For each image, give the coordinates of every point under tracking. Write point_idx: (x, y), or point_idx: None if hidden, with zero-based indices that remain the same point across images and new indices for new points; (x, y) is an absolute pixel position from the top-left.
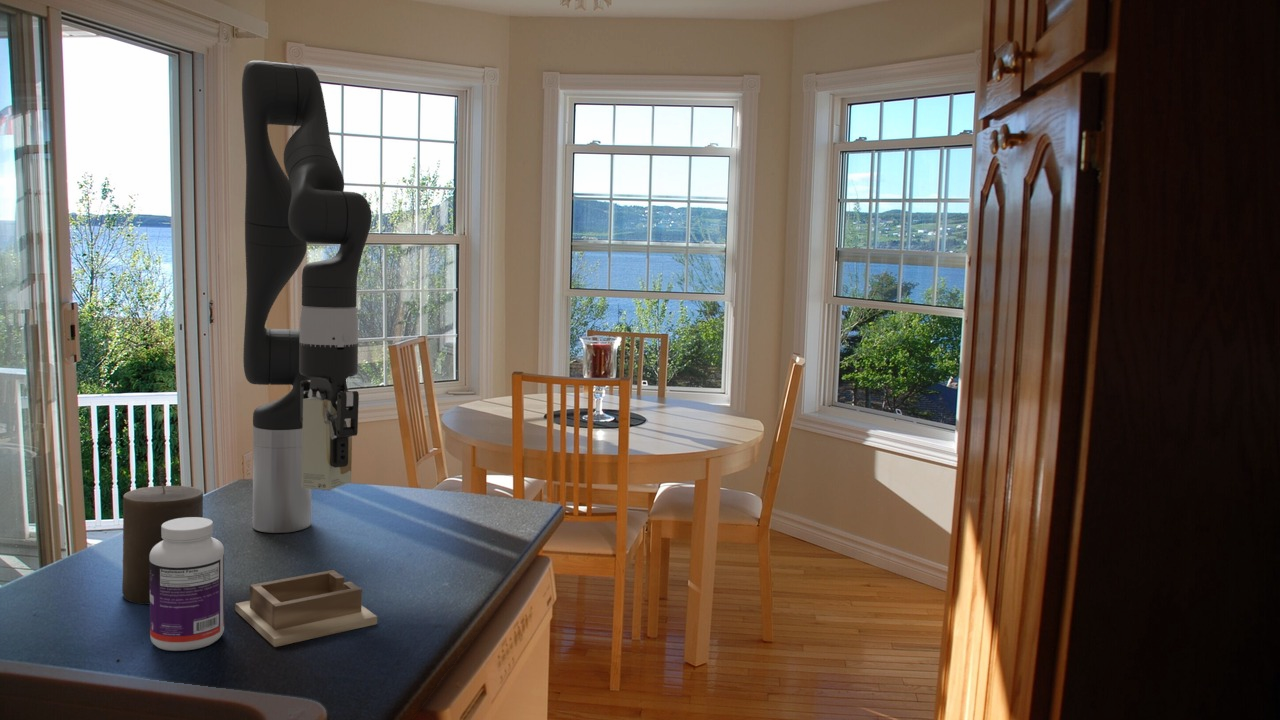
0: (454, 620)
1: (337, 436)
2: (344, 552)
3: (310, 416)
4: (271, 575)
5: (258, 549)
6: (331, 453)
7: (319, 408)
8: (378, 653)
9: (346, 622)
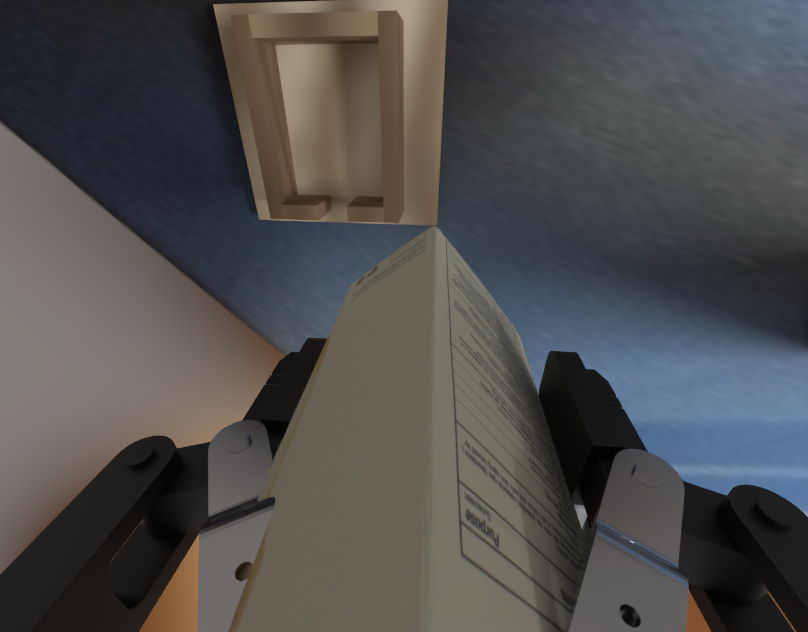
0: (241, 306)
1: (169, 438)
2: (614, 325)
3: (355, 505)
4: (602, 161)
5: (787, 204)
6: (298, 369)
7: (254, 628)
8: (153, 164)
9: (251, 165)
